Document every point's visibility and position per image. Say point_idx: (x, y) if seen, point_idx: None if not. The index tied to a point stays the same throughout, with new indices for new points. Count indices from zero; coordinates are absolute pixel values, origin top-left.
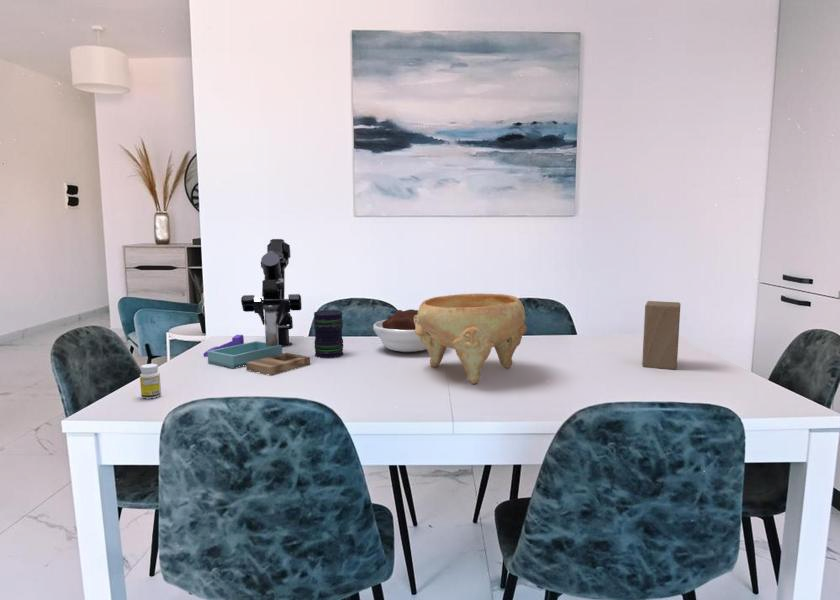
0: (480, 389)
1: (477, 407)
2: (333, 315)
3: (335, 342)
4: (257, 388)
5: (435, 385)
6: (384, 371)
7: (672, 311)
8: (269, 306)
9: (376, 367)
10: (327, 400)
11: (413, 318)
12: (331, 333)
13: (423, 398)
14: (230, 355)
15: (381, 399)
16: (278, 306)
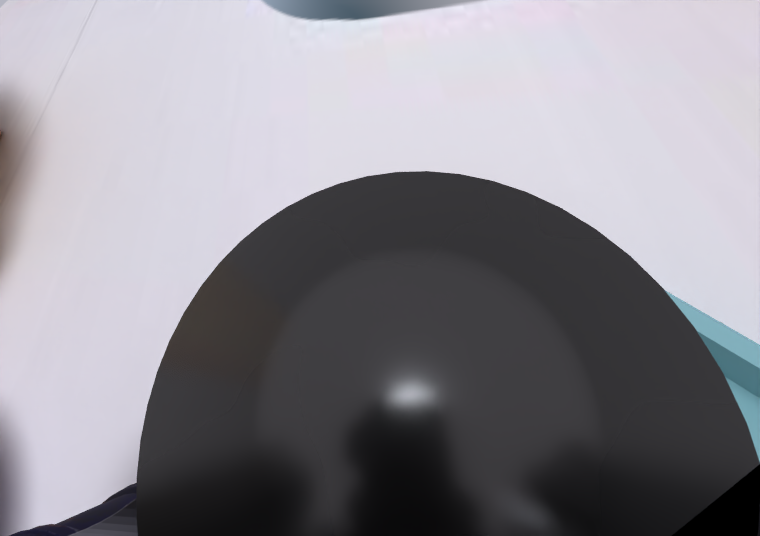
0: (8, 105)
1: (59, 22)
2: None
3: (116, 493)
4: (430, 62)
5: (56, 122)
6: (101, 234)
7: None
8: (388, 176)
9: (104, 281)
10: (261, 11)
11: None
12: (70, 518)
13: (105, 48)
14: (688, 310)
15: (168, 33)
16: (195, 351)
